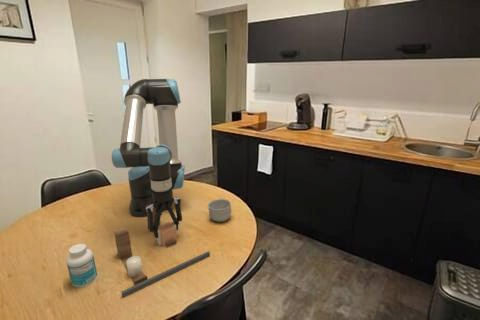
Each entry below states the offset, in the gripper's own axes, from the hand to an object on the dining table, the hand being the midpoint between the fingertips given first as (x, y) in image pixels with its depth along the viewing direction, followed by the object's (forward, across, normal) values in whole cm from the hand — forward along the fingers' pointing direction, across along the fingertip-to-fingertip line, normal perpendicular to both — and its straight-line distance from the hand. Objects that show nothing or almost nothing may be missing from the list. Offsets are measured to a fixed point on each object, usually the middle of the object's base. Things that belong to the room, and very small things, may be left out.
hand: (167, 240), depth 107 cm
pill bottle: (+2, -30, -3) cm, 30 cm away
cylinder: (0, -16, -11) cm, 19 cm away
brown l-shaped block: (+1, 0, +5) cm, 6 cm away
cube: (0, 0, 0) cm, 0 cm away
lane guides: (+1, -7, -7) cm, 10 cm away
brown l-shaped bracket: (+1, -16, -7) cm, 17 cm away
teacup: (+2, +29, +4) cm, 29 cm away
